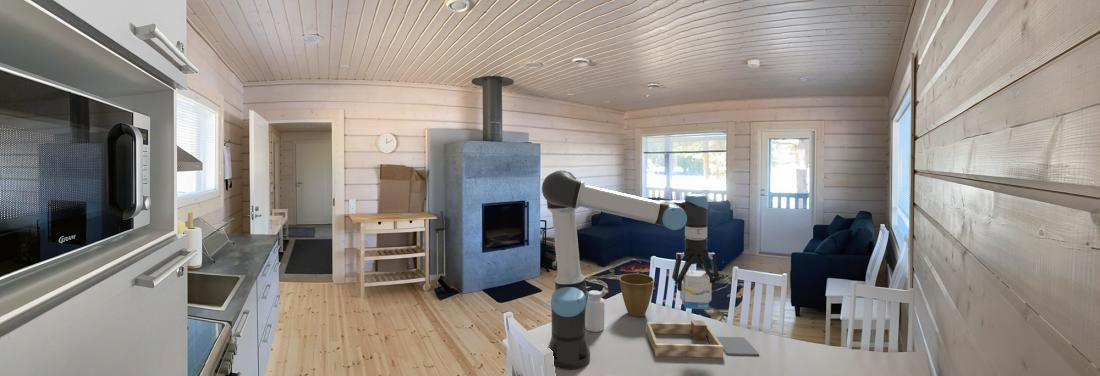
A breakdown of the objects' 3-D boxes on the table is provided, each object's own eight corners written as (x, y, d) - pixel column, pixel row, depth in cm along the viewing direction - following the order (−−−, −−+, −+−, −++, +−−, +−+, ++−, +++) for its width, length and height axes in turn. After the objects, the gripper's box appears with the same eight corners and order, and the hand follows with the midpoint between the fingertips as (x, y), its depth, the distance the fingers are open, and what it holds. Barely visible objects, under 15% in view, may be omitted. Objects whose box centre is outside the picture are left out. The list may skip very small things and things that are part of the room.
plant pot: (618, 307, 188) (618, 273, 187) (650, 307, 187) (651, 273, 185) (620, 320, 173) (620, 283, 172) (656, 321, 172) (656, 284, 170)
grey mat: (726, 354, 143) (726, 353, 143) (714, 338, 156) (714, 336, 156) (759, 355, 142) (759, 354, 142) (744, 338, 155) (744, 337, 155)
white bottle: (607, 326, 167) (607, 291, 165) (599, 334, 160) (599, 297, 159) (590, 322, 171) (590, 287, 170) (581, 329, 164) (581, 293, 163)
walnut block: (694, 340, 154) (694, 325, 154) (690, 335, 159) (691, 320, 158) (706, 340, 154) (706, 325, 153) (702, 335, 158) (703, 320, 158)
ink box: (709, 310, 142) (710, 277, 141) (684, 308, 143) (684, 276, 143) (705, 301, 150) (705, 270, 149) (681, 300, 152) (681, 269, 151)
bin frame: (655, 355, 143) (655, 344, 142) (646, 332, 161) (646, 322, 161) (723, 357, 141) (723, 346, 141) (705, 333, 160) (706, 323, 159)
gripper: (667, 240, 142) (667, 303, 144) (731, 239, 140) (730, 303, 142) (663, 236, 149) (662, 295, 151) (723, 235, 148) (722, 296, 150)
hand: (695, 299), depth 147 cm, fingers closed on ink box, 9 cm apart
